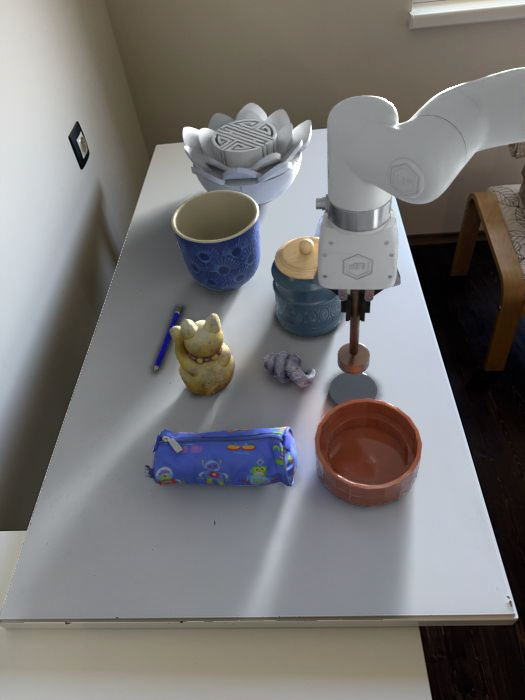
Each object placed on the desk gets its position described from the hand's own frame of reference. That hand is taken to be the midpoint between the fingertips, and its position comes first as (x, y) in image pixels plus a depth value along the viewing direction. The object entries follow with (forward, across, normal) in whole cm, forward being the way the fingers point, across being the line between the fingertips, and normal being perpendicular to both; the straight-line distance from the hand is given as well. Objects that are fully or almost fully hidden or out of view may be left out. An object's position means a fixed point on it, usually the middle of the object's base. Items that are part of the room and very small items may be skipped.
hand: (355, 314), depth 81 cm
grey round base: (+19, 0, 0) cm, 19 cm away
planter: (+19, -27, +30) cm, 44 cm away
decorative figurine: (+19, -25, +1) cm, 31 cm away
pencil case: (+19, -19, -16) cm, 31 cm away
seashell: (+19, -11, +3) cm, 22 cm away
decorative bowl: (+19, -26, +60) cm, 68 cm away
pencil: (+19, -35, +11) cm, 41 cm away
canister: (+19, -8, +18) cm, 28 cm away
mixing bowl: (+19, +2, -14) cm, 23 cm away
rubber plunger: (+11, 0, 0) cm, 11 cm away
